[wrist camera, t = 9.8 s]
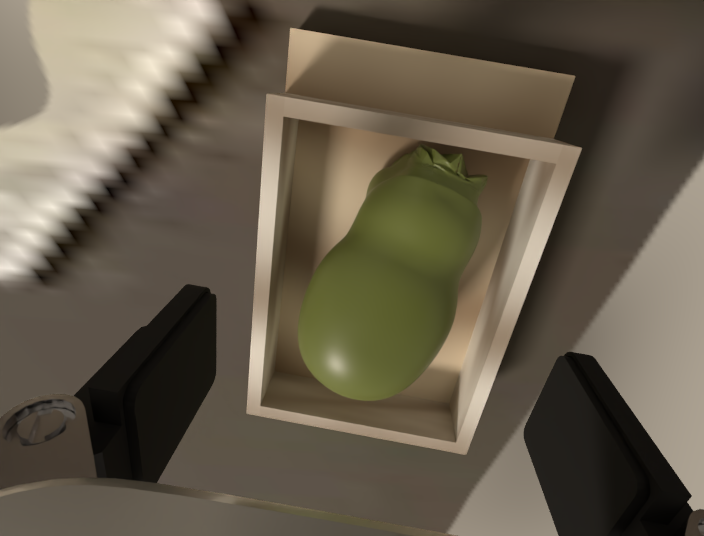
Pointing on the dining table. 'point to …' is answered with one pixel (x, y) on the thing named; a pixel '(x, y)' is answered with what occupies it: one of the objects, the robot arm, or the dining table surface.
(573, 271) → the dining table surface
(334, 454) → the dining table surface
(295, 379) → the open rectangular box
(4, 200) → the dining table surface
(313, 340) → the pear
